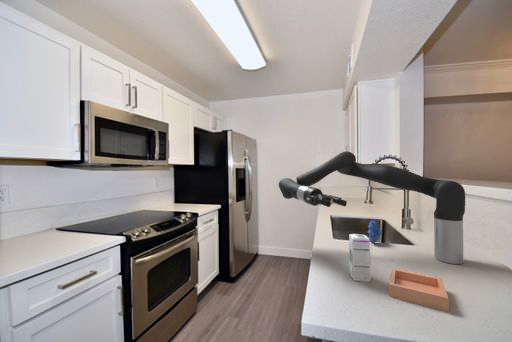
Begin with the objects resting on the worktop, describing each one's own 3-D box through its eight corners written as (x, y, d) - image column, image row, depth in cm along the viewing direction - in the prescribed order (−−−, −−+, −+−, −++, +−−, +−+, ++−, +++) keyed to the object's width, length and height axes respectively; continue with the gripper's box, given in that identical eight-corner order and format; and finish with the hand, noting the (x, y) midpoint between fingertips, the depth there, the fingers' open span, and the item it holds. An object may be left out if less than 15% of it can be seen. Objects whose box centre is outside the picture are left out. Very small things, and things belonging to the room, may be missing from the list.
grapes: (379, 247, 109) (379, 223, 109) (364, 244, 114) (364, 221, 114) (385, 242, 118) (385, 219, 118) (371, 239, 122) (371, 217, 122)
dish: (391, 278, 77) (391, 268, 77) (441, 289, 69) (441, 278, 70) (389, 295, 66) (389, 284, 66) (448, 311, 58) (448, 298, 58)
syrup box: (371, 282, 74) (370, 238, 74) (352, 280, 75) (352, 237, 76) (366, 274, 80) (366, 234, 80) (348, 273, 81) (348, 233, 81)
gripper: (297, 186, 95) (325, 194, 81) (322, 187, 102) (352, 194, 88) (295, 203, 96) (323, 214, 81) (320, 203, 102) (349, 212, 88)
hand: (338, 204), depth 84 cm, fingers open, 8 cm apart
